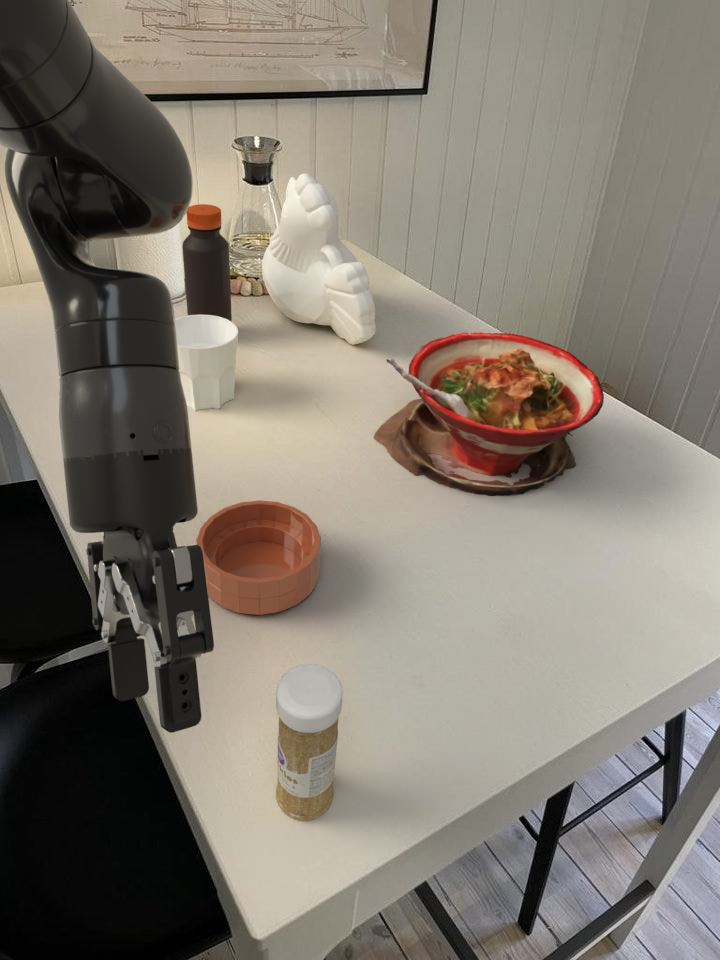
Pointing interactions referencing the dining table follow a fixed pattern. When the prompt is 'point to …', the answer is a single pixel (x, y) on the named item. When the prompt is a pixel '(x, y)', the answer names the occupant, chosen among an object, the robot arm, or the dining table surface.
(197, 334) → the cup
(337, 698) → the sprinkles bottle
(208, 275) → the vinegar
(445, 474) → the stew
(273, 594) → the bowl
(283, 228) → the decorative rooster
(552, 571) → the dining table surface
